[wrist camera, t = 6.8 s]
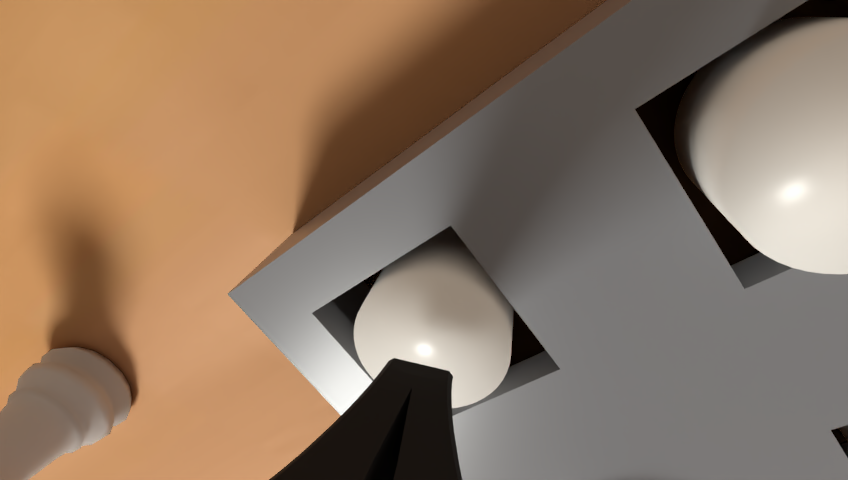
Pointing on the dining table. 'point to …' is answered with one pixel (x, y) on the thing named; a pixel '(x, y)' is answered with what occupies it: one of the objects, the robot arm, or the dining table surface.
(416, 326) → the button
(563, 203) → the button board
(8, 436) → the rook chess piece
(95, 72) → the dining table surface
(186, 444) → the dining table surface
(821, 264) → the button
